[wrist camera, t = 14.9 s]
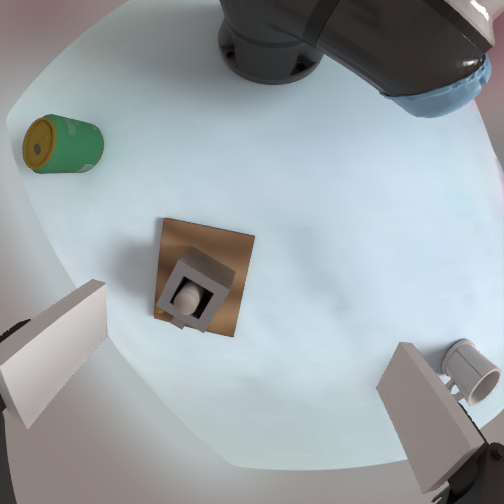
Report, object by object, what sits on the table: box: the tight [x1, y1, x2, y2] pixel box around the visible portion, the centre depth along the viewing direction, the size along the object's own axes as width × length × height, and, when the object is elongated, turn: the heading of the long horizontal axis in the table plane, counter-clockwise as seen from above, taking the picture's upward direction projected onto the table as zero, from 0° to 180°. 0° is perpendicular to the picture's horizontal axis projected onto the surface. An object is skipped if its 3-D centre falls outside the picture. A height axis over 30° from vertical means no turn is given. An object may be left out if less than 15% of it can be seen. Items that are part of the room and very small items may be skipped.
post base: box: [154, 218, 255, 337], centre depth 37 cm, size 16×13×9 cm
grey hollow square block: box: [156, 247, 236, 333], centre depth 37 cm, size 11×7×7 cm, turn 149°
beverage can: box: [23, 114, 104, 174], centre depth 31 cm, size 8×8×12 cm
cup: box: [442, 339, 501, 406], centre depth 38 cm, size 10×9×12 cm
